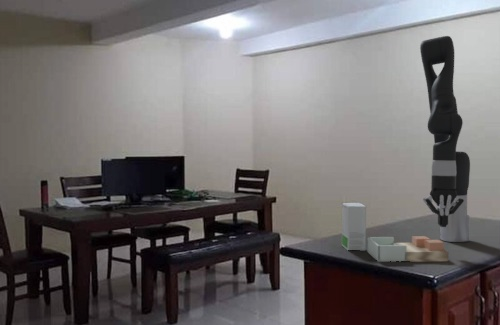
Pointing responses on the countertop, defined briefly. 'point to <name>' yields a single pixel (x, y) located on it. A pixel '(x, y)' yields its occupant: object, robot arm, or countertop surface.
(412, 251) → the board
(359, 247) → the skincare box
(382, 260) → the box
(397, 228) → the countertop surface
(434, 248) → the tile
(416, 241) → the tile
